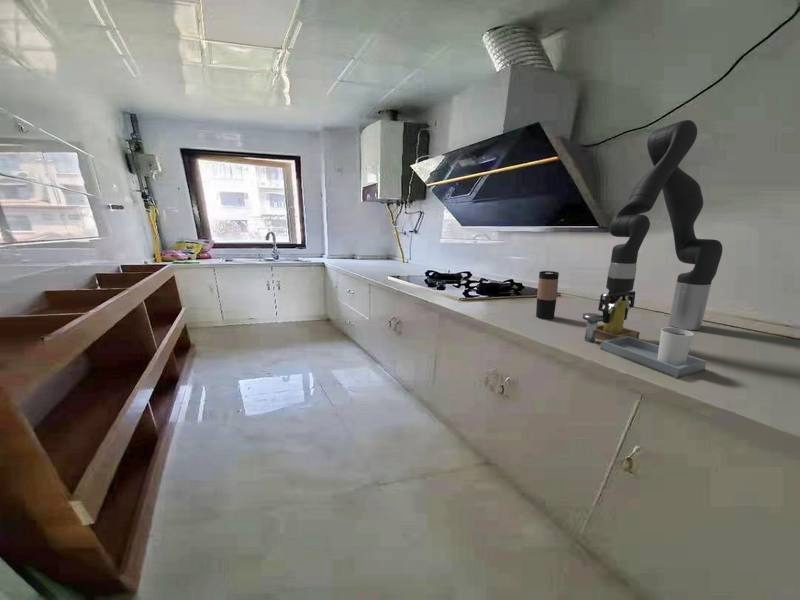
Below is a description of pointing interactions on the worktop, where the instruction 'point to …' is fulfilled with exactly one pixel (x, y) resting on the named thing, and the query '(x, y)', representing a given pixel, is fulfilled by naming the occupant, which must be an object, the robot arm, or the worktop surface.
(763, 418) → the worktop surface
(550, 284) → the travel mug
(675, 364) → the white cup
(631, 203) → the robot arm
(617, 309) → the vase
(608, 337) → the holder
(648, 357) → the tray
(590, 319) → the knob post
